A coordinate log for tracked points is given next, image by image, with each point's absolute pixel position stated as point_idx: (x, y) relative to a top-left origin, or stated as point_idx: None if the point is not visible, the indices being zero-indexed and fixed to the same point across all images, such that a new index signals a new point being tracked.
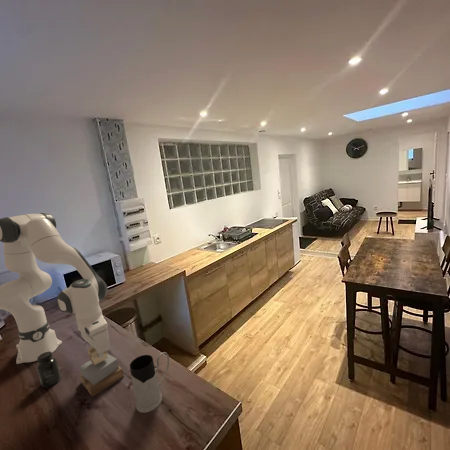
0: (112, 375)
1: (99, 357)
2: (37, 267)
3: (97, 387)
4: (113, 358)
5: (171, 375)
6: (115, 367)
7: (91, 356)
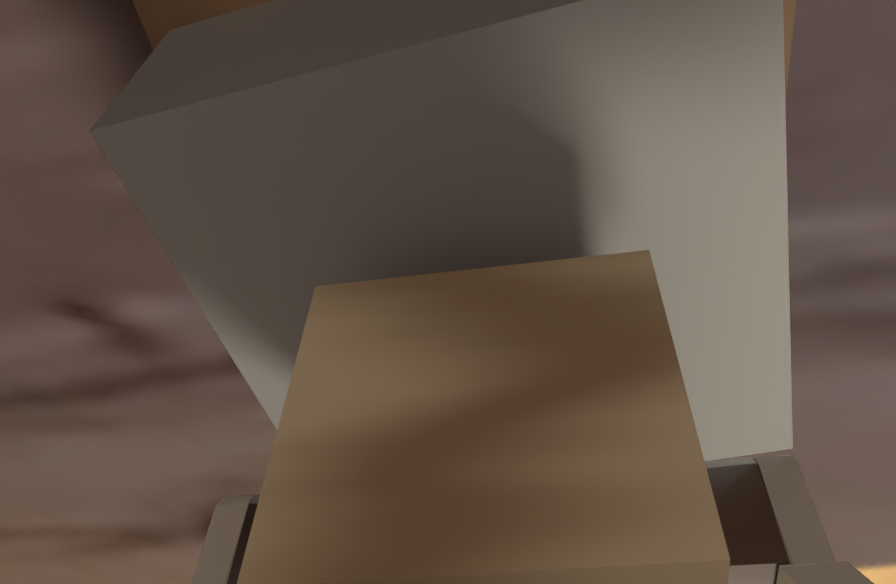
0: None
1: (215, 517)
2: None
3: None
4: None
5: (26, 563)
6: None
7: (417, 427)
